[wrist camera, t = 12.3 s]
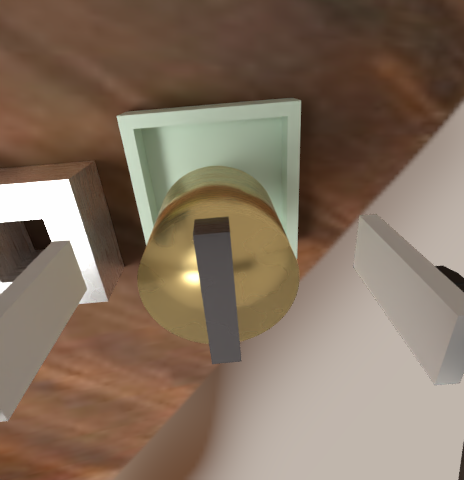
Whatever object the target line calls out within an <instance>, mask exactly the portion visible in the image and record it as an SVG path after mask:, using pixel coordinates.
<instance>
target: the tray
mask: <svg viewBox="0 0 464 480" xmlns="http://www.w3.org/2000/svg"><path fill="white" fill-rule="evenodd" d="M117 120H118V125H119V129H120V133H121V138H122V142H123V146H124V151H125V155H126V159H127V164H128V168H129V172H130V177H131V181H132V185H133V190H134V194H135V198H136V203H137V207H138V211H139V216H140V220H141V224H142V229H143V233H144V237H145V242H146V246H147V243H148V240H149V238H150V235H151V232H152V230H153V227H154V224H155V222H156V219H157V216H158V214H159V211H160V208H161V206H162V203H163V201H164V198H165V196H166V194H167V192H168V191H169V190H170V188H171V187H172V186H173V185H174V184H175V182H176V181H178V180H179V179H180V178H181V177H183V176H184V175H186V174H187V173H189V172H191V171H194V170H196V169H199V168H203V167H208V166H227V167H232V168H236V169H239V170H241V171H244V172H245V173H247V174H249V175H251V176H252V177H253V178H255V179H256V180H257V181H258V182H259V183H260V184H261V185H262V186H263V187H264V189H265V190H266V191H267V193H268V195H269V197H270V199H271V201H272V203H273V206H274V208H275V210H276V213H277V215H278V217H279V220H280V222H281V224H282V227H283V229H284V231H285V234H286V236H287V238H288V241H289V243H290V245H291V248H292V250H293V252H294V255H295V257H296V259H297V244H298V206H299V167H300V128H301V100H298V99H295V98H281V99H269V100H258V101H246V102H234V103H222V104H210V105H198V106H186V107H175V108H163V109H151V110H139V111H127V112H125V113H123V114H120V115H118V116H117Z"/></svg>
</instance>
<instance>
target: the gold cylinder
mask: <svg viewBox="0 0 464 480" xmlns="http://www.w3.org/2000/svg"><path fill="white" fill-rule="evenodd" d="M298 287H299V268H298V263H297V260H296V257H295V255H294V252H293V250H292V248H291V245H290V243H289V241H288V238H287V236H286V234H285V231H284V229H283V227H282V224H281V222H280V220H279V217H278V215H277V213H276V210H275V208H274V206H273V203H272V201H271V199H270V197H269V195H268V193H267V191H266V190H265V189H264V187H263V186H262V185H261V184H260V183H259V182H258V181H257V180H256V179H255V178H253V177H252V176H251V175H249V174H247V173H245V172H244V171H241V170H239V169H236V168H232V167H227V166H208V167H203V168H199V169H196V170H194V171H191V172H189V173H187V174H186V175H184V176H183V177H181V178H180V179H179V180H178V181H176V182H175V184H174V185H173V186H172V187H171V188H170V190H169V191H168V192H167V194H166V196H165V198H164V201H163V203H162V206H161V208H160V211H159V214H158V216H157V219H156V222H155V224H154V227H153V230H152V232H151V235H150V238H149V240H148V243H147V246H146V248H145V251H144V253H143V256H142V259H141V262H140V265H139V269H138V289H139V294H140V297H141V300H142V302H143V304H144V306H145V308H146V310H147V311H148V312H149V314H150V315H151V316H152V317H153V318H154V319H155V320H156V322H157V323H159V324H160V325H161V326H162V327H164V328H165V329H167V330H168V331H170V332H171V333H173V334H175V335H177V336H179V337H182V338H184V339H187V340H190V341H194V342H199V343H205V344H209V346H210V353H211V359H212V364H218V363H228V362H240V361H241V352H240V341H244V340H247V339H250V338H253V337H255V336H257V335H259V334H261V333H263V332H265V331H266V330H268V329H270V328H271V327H272V326H274V325H275V324H276V323H277V322H279V321H280V320H281V319H282V318H283V317H284V315H285V314H286V313H287V312H288V310H289V309H290V307H291V306H292V304H293V301H294V300H295V297H296V295H297V291H298Z"/></svg>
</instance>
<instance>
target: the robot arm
mask: <svg viewBox="0 0 464 480" xmlns="http://www.w3.org/2000/svg"><path fill="white" fill-rule="evenodd" d="M353 268H354V269H355V271H356V272H357V273H358V275H359V276H360V278H361V279H362V281H363V282H364V284H365V285H366V286H367V287H368V289H369V291H370V292H371V294H372V295H373V297H374V298H375V299H376V301H377V302H378V304H379V305H380V307H381V308H382V310H383V311H384V313H385V314H386V315H387V317H388V318H389V320H390V321H391V323H392V324H393V326H394V327H395V329H396V330H397V331H398V332H399V334H400V336H401V337H402V339H403V340H404V342H405V343H406V344H407V346H408V347H409V349H410V350H411V352H412V353H413V355H414V356H415V357H416V359H417V360H418V362H419V363H420V365H421V366H422V368H423V369H424V370H425V372H426V373H427V375H428V376H429V378H430V379H431V381H432V382H433V384H434V385H444V384H456V383H460V381H461V379H462V376H463V374H464V278H463V277H462V276H461V275H459V274H458V273H457V272H454V271H452V270H450V269H448V268H446V267H444V266H434V265H433V264H432V263H430V262H429V261H428V260H427V259H426V258H425V257H424V256H423V255H421V254H420V253H419V252H418V251H417V250H416V249H415V248H414V247H413V246H411V245H410V244H409V243H408V242H407V241H406V240H405V239H404V238H403V237H402V236H400V235H399V234H398V233H397V232H396V231H395V230H394V229H393V228H391V227H390V226H389V225H388V224H387V223H386V222H385V221H384V220H383V219H381V218H380V217H379V216H378V215H377V214H372V215H359V223H358V231H357V240H356V247H355V255H354V263H353ZM86 291H87V287H86V284H85V281H84V279H83V276H82V273H81V270H80V267H79V265H78V262H77V259H76V256H75V253H74V251H73V248H72V245H71V242H70V240H61V241H52V242H51V243H50V244H49V245H48V246H47V247H46V249H45V250H44V251H43V252H42V253H41V254H40V255H39V256H38V257H37V258H36V259H35V260H34V261H33V262H32V263H31V264H30V265H29V266H28V267H27V268H26V269H25V270H24V271H23V272H22V273H21V274H20V275H19V276H18V277H17V278H16V279H15V280H14V281H13V282H12V283H11V284H10V285H9V286H8V287H7V288H6V289H5V290H4V291H3V292H2V293H1V294H0V421H8V420H9V418H10V417H11V415H12V413H13V412H14V410H15V408H16V407H17V405H18V404H19V402H20V400H21V399H22V397H23V395H24V394H25V392H26V390H27V389H28V387H29V385H30V384H31V382H32V380H33V379H34V377H35V375H36V374H37V372H38V370H39V369H40V367H41V365H42V364H43V362H44V360H45V359H46V357H47V355H48V354H49V352H50V350H51V349H52V347H53V345H54V344H55V342H56V340H57V339H58V337H59V335H60V334H61V332H62V330H63V329H64V327H65V326H66V324H67V322H68V321H69V319H70V317H71V316H72V314H73V312H74V311H75V309H76V307H77V306H78V304H79V302H80V301H81V299H82V297H83V296H84V294H85V292H86ZM458 480H464V444H463V451H462V458H461V465H460V472H459V479H458Z"/></svg>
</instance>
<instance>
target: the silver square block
mask: <svg viewBox="0 0 464 480" xmlns="http://www.w3.org/2000/svg"><path fill="white" fill-rule="evenodd" d="M33 219H43V220H44V223H45V226H46V228H47V231H48V233H49V236H50V238H51V241H61V240H70V242H71V245H72V248H73V251H74V253H75V256H76V259H77V262H78V265H79V267H80V270H81V273H82V276H83V279H84V281H85V284H86V287H87V291H86V292H85V294H84V296H83V297H82V299H81V301H80V302H79V304H82V303H94V302H106V301H108V300H109V298H110V296H111V294H112V292H113V290H114V288H115V286H116V284H117V282H118V279H119V277H120V275H121V273H122V271H123V269H124V264H123V260H122V257H121V253H120V249H119V246H118V242H117V239H116V235H115V231H114V228H113V224H112V221H111V217H110V213H109V210H108V206H107V203H106V199H105V196H104V192H103V188H102V185H101V181H100V178H99V174H98V170H97V167H96V163H95V160H94V161H82V162H70V163H58V164H46V165H34V166H22V167H10V168H0V294H1V293H2V292H3V291H4V290H5V289H6V288H7V287H8V286H9V285H10V284H11V283H12V282H13V281H14V280H15V279H16V278H17V277H18V276H19V275H20V274H21V273H22V272H23V271H24V270H25V269H26V268H27V267H28V266H29V265H30V264H31V263H32V262H33V261H34V260H35V259H36V258H37V257H38V256H39V255H40V254H41V253H42V252H43V251H44V250H45V249H43V250H35V249H34V246H33V244H32V242H31V239H30V237H29V235H28V232H27V230H26V227H25V225H24V223H23V220H33Z"/></svg>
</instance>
